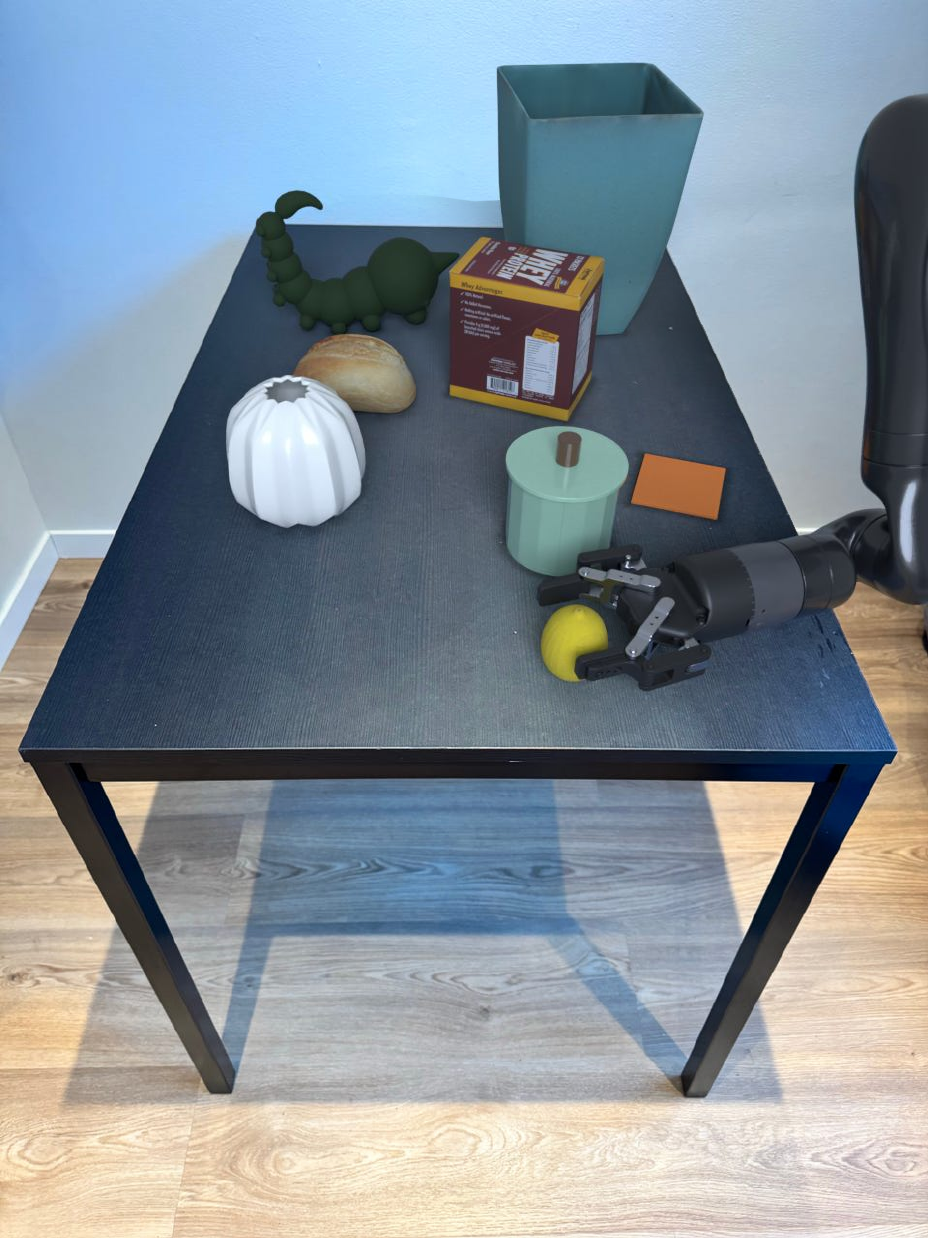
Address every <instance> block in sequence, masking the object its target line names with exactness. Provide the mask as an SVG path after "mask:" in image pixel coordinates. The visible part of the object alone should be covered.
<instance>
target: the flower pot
mask: <svg viewBox="0 0 928 1238" xmlns="http://www.w3.org/2000/svg"><path fill="white" fill-rule="evenodd" d="M496 97H497V98H496V100H497V101H496V102H497V162H498V163H497V164H498V167H497V168H498V171H497V172H498V173H497V174H498V192H499V204H500V214H501V223H502V230H503V236H504V241H507V242H513V243H519V244H524V245H530V246H535V247H541V248H547V249H553V250H559V251H565V252H571V253H577V254H583V255H591V256H597V257H601V258H604V259H605V263H604V271H603V280H602V288H601V296H600V305H599V313H598V322H597V330H596V336H610V335H621V334H623V333H624V332H625V331H626V329H627V328H628V326H629V324H630V322H631V321H632V319H633V318H634V316H635V315H636V313H637V312H638V310H639V308H640V306H641V304H642V303H643V301H644V300H645V297H646V295H647V293H648V291H649V289H650V287H651V285H652V282H653V280H654V278H655V276H656V274H657V272H658V270H659V267H660V264H661V262H662V261H663V257H664V255H665V252H666V250H667V247H668V244H669V241H670V238H671V236H672V232H673V228H674V225H675V222H676V218H677V215H678V210H679V208H680V202H681V200H682V196H683V192H684V189H685V185H686V181H687V178H688V174H689V170H690V166H691V162H692V160H693V156H694V153H695V148H696V145H697V142H698V138H699V134H700V131H701V127H702V123H703V119H704V115H705V112H704V110H703V109H702V108H701V107H700V106H699V105H697V103H696V102H695V101H693V100H692V99H691V97H689V95H687V94H686V93H685V92H684V91H683V90H682V89H681V88H680V87H679V86H677V84H675V82H674V81H672V79H670V78H669V77H668V76H667V74H665V73H664V72H663V71H662V69H660V68H659V67H658V66H657V65H655V64H654V63H651V62H601V63H600V62H595V63H591V62H590V63H549V64H504V65H499V66H497V67H496Z"/></svg>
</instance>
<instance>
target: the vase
mask: <svg viewBox="0 0 928 1238" xmlns="http://www.w3.org/2000/svg"><path fill="white" fill-rule="evenodd" d="M225 429H226V430H225V432H226V433H225V447H226V458H227V463H228V478H229V484H230V488H231V493H232V495H233V497H234V499H235V502H236V503H238V504H239V505H240V506H242V507H243V508H245V509H246V510H247V511H249V512H251V513H252V514H253V515H255V516H256V517H257V518H259V519H260V520H262V521H266V522H268V523H270V524H273V525H276V526H278V527H281V528H285V529H288V528H289V529H290V528H292V527H293V526H296V525H304V526H309V527H317V526H320V524H322V523H324V522H326V521H327V520H329V519H331V518H332V517H339V516H340V515H342V514H343V513H344V512H345V511H346V510H347V509H348V508H349V507H350V506H351V505H352V504H353V503H354V502H355V501H356V500H357V499H358V498H359V497H360V496H361V493H362V479H363V478H364V475H365V473H366V464H367V460H366V449H365V446H364V445H365V444H364V440H363V436H362V431H361V430H360V426H359V423H358V421H357V418H356V416H355V413H354V411H352V410H351V408H350V407H349V405H348V404H347V403H346V402H345V401H344V400H342V399H341V398H340V397H339V396H338V394H337V392H336V390H335V389H333V388H331V387H329V386H328V385H326V384H323V383H321V382H319V381H316V380H314V379H310V378H307V377H303V376H300V377H297V376H294V375H292V374H284V375H282V376H280V377H271V378H267V379H265V380H263V381H262V382H260V383H258V384H257V385H255V386H253V387H252V388H250V389H249V390H248V391H247V392H246V393H245V394H244V396H243V397H242V398H240V399H239V400H238V402H236V404H234V405H233V406H232V407H231V409H230V412H229V414H228V417H227V420H226V428H225Z"/></svg>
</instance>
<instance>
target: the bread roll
mask: <svg viewBox="0 0 928 1238" xmlns="http://www.w3.org/2000/svg"><path fill="white" fill-rule="evenodd" d="M291 375H294V376H297V377H300V376H303V377H307V378H310V379H314V380H316V381H319V382H321V383H323V384H326V385H328V386H329V387H331V388H333V389H335V390H336V392H337V394H338V396H339V397H340V398H341V399H342V400H344V401H345V402H346V403H347V404H348V405H349V407H350V408H351V410H352V411H353V412H364V413H373V414H376V413H377V414H399V413H400V412H403V411H405V410H407V409H408V408H409V407H410V406H411V405H412V404H413V403H414V401H415V400H416V397H417V386H416V383H415V380H414V377H413V374H412V372H411V371H410V369H409V367H408V365H407V364H406V362H405V359H404V357H403V355H401V354H400V353H399V352H398V351H397V349H396V348H394V346H393V345H391V344H390V343H388V342H387V341H384V340H382V339H380V338H378V337H375V336H371V335H366V334H357V333H345V334H341V335H335V334H333V335H330V336H326V337H325V338H323V339H321V340H320V341H318V342H316V343H314V344H313V345H312V346H311V348H310V349H309V350H307V353H305V354H304V355H303V356H302V358H301V359H300V360H299V361H298V363H297V365H296V366H295V369H294V371H293V373H292V374H291Z"/></svg>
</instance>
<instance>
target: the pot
mask: <svg viewBox="0 0 928 1238" xmlns="http://www.w3.org/2000/svg"><path fill="white" fill-rule="evenodd" d="M620 493H621V487H620V488H619V489H618V490H616V491H615V492H614V493H612V494H610V495H608V496H606V497H604V498H601V499H598V500H594V501H589V502H581V503H564V502H556V501H551V500H547V499H543V498H540V497H537V496H535V495H533V494H530V493H529V492H527V491H525V490H523V489H522V488H521V487H519V486H518V485H517V484H516V483H515V482H514V481H513V480H512V479H511V477H510V476H509V475H508V485H507V501H506V517H505V531H504V533H505V544H506V547H507V550H508V552H509V554H510V555H511V557H512V558H513V559H514V560H515V561H516V562H518V563H519V565H521V566H523V567H524V568H526V569H528V570H530V571H532V572H535V573H538V574H542V575H545V576H551V577H559V576H564V575H569V574H573V573H575V571H576V564H577V557H578V554H580V553H582V552H589V551H595V550H601V549H607V548H611V543H612V539H613V538H612V537H613V532H614V526H615V521H616V515H617V509H618V503H619V498H620V497H619V496H620ZM599 565H600V563H598V564H592V565H591V567H595V566H599Z"/></svg>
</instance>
